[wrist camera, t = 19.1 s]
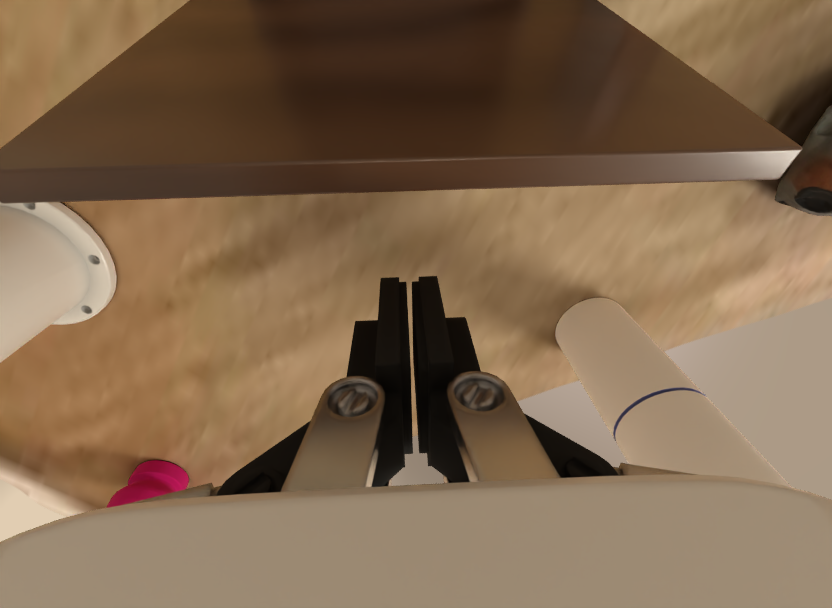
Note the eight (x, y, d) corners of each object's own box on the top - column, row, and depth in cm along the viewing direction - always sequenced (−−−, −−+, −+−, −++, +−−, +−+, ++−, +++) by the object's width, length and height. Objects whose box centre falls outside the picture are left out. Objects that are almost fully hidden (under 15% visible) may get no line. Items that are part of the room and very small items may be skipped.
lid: (-33, 171, 7) (1, 204, 7) (805, 147, 7) (780, 180, 8) (232, -35, 19) (237, -16, 19) (545, -38, 19) (541, -20, 20)
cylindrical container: (597, 284, 37) (869, 575, 16) (639, 322, 40) (918, 615, 19) (541, 332, 40) (708, 635, 19) (583, 365, 43) (772, 663, 21)
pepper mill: (202, 470, 49) (100, 688, 32) (180, 499, 51) (75, 714, 34) (142, 449, 46) (-4, 673, 29) (123, 480, 49) (-22, 702, 32)
